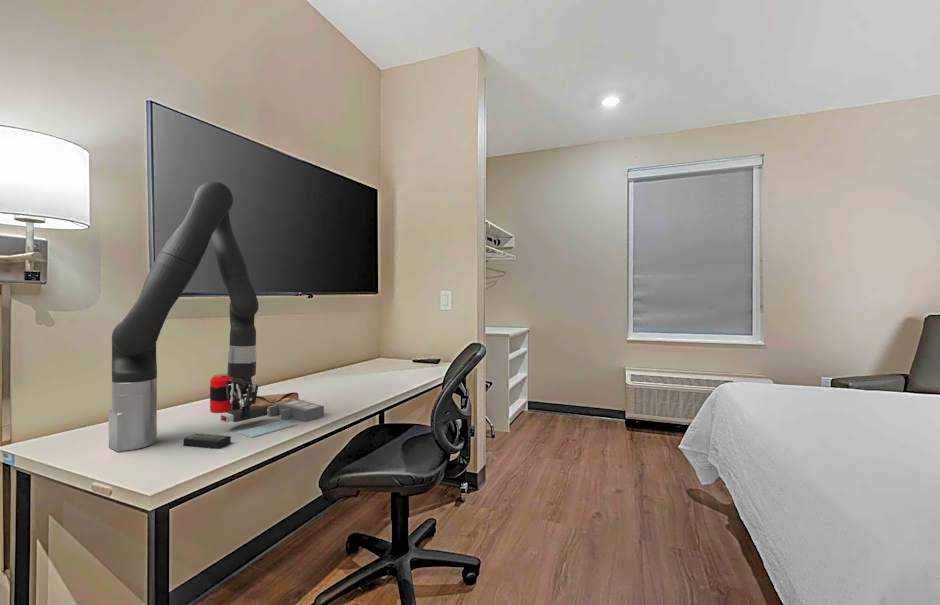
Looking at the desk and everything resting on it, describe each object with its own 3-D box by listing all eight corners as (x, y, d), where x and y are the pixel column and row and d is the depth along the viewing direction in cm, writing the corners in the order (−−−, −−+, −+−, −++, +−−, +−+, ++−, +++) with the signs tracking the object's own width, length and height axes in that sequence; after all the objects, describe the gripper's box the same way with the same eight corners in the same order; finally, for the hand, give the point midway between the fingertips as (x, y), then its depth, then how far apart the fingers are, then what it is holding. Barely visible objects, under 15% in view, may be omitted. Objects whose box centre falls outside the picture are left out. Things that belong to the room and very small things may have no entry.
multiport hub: (219, 450, 107) (219, 441, 107) (182, 447, 109) (182, 438, 109) (231, 444, 111) (231, 436, 111) (196, 441, 113) (196, 433, 113)
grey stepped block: (297, 424, 128) (297, 410, 128) (265, 415, 137) (265, 402, 137) (323, 416, 136) (324, 403, 136) (292, 408, 145) (292, 396, 145)
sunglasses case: (245, 411, 140) (245, 392, 143) (244, 417, 146) (244, 399, 148) (302, 405, 149) (300, 387, 152) (299, 411, 155) (298, 394, 158)
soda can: (212, 414, 137) (213, 378, 137) (207, 409, 143) (207, 374, 142) (238, 410, 142) (238, 375, 142) (232, 405, 148) (232, 372, 148)
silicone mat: (252, 438, 115) (252, 436, 115) (238, 433, 119) (238, 431, 119) (296, 425, 127) (296, 423, 127) (282, 421, 131) (282, 419, 131)
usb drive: (267, 415, 129) (268, 406, 129) (228, 424, 119) (228, 414, 119) (258, 412, 132) (258, 403, 132) (218, 420, 122) (219, 411, 122)
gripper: (216, 359, 125) (215, 415, 125) (242, 364, 118) (240, 424, 118) (241, 356, 132) (239, 410, 132) (268, 361, 124) (266, 418, 124)
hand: (240, 416), depth 125 cm, fingers closed on usb drive, 5 cm apart
